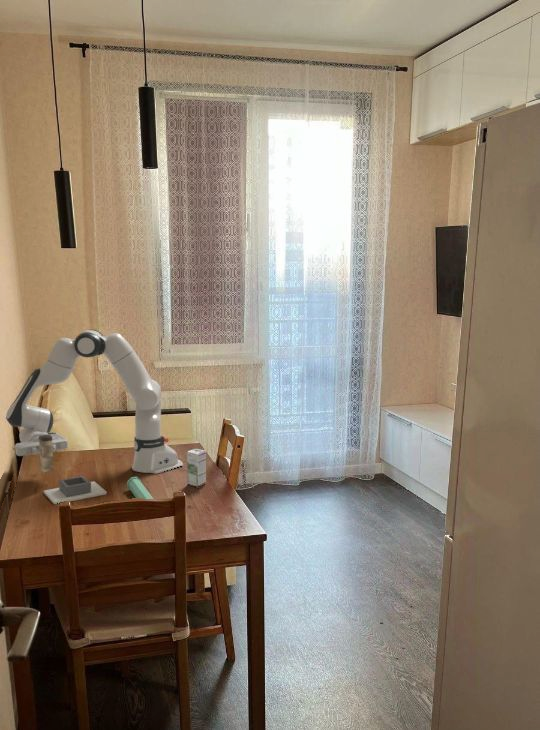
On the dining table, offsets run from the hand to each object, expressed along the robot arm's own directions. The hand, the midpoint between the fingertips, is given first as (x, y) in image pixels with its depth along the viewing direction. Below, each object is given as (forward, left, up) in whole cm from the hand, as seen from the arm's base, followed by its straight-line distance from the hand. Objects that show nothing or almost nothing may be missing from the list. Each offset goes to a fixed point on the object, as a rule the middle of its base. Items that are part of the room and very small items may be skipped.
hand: (46, 451), depth 239 cm
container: (-26, +33, -15) cm, 45 cm away
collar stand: (-7, +13, -15) cm, 21 cm away
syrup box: (-52, +29, -15) cm, 61 cm away
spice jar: (0, -1, -8) cm, 8 cm away
